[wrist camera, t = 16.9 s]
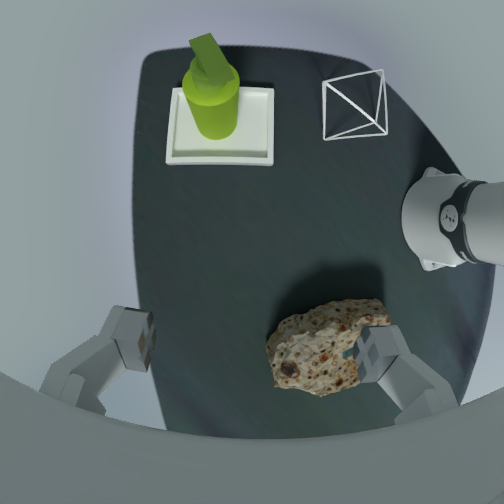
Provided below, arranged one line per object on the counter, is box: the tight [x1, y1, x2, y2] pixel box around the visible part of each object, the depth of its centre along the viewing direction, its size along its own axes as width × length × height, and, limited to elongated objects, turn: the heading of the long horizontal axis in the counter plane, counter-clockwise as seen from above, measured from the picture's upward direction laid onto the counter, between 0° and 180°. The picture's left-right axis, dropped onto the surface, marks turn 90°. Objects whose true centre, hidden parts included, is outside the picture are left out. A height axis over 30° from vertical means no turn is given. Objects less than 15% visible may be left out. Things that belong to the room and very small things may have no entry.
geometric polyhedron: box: [322, 69, 388, 140], centre depth 34 cm, size 12×11×9 cm
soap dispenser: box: [182, 33, 240, 140], centre depth 27 cm, size 6×7×20 cm
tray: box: [166, 87, 274, 166], centre depth 36 cm, size 15×12×2 cm
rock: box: [266, 298, 390, 397], centre depth 40 cm, size 21×14×10 cm
